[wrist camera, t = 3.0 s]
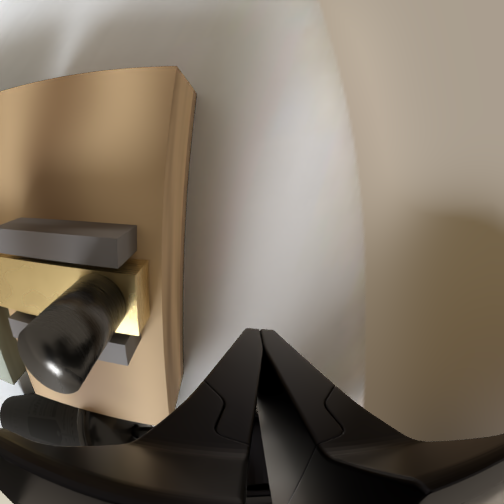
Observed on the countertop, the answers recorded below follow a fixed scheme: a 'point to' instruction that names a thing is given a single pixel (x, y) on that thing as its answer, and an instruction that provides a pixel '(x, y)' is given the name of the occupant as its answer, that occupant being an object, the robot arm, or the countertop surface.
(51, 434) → the drinking cup
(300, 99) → the countertop surface
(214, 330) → the countertop surface
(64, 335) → the bolt
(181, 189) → the frame
